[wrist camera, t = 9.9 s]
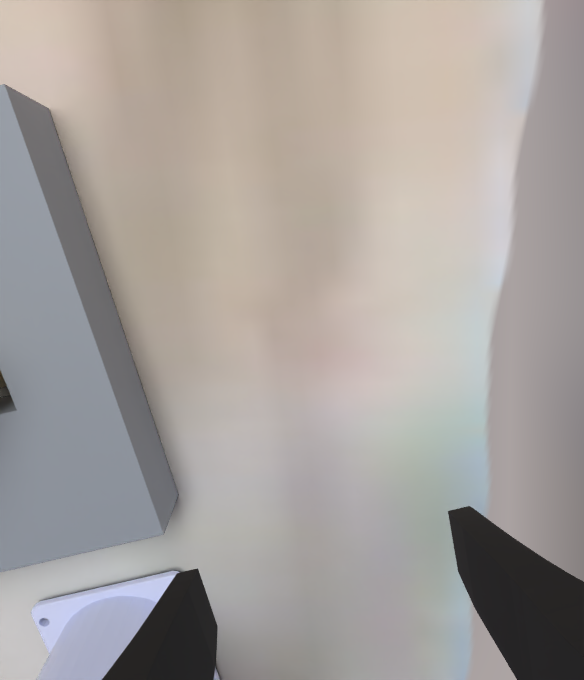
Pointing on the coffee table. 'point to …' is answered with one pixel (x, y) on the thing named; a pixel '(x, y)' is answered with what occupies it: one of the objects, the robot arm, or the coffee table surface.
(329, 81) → the coffee table surface
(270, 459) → the coffee table surface
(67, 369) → the grey flat block
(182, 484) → the coffee table surface
